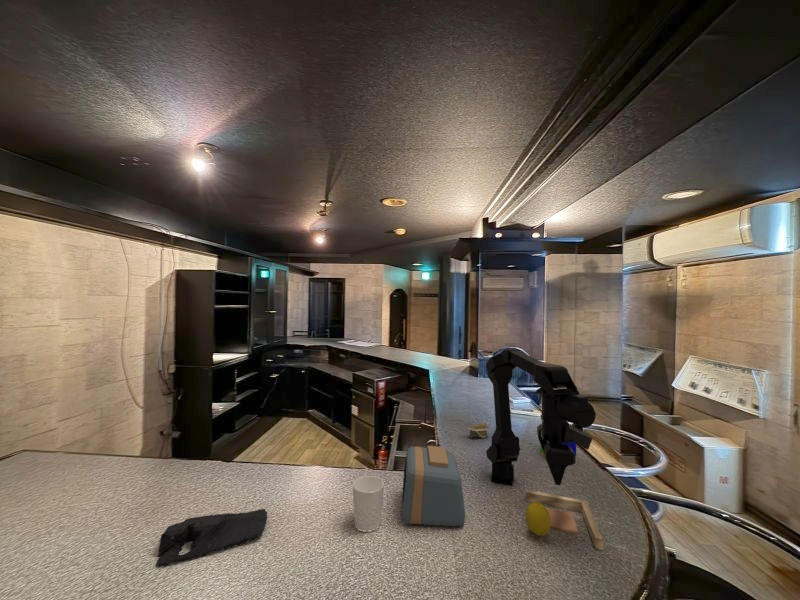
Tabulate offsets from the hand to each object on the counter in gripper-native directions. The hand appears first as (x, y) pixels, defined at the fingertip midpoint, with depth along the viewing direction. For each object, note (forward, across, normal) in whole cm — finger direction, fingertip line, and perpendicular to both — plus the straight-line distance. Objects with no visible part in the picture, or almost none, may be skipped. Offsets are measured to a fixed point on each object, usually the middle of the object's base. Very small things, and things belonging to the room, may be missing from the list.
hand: (554, 475), depth 80 cm
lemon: (+13, -5, +5) cm, 15 cm away
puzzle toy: (+13, +44, -8) cm, 47 cm away
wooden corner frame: (+13, +3, -2) cm, 13 cm away
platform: (+13, +54, +22) cm, 59 cm away
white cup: (+13, -14, +46) cm, 50 cm away
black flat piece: (+13, -30, +79) cm, 85 cm away
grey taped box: (+13, -3, +32) cm, 34 cm away
